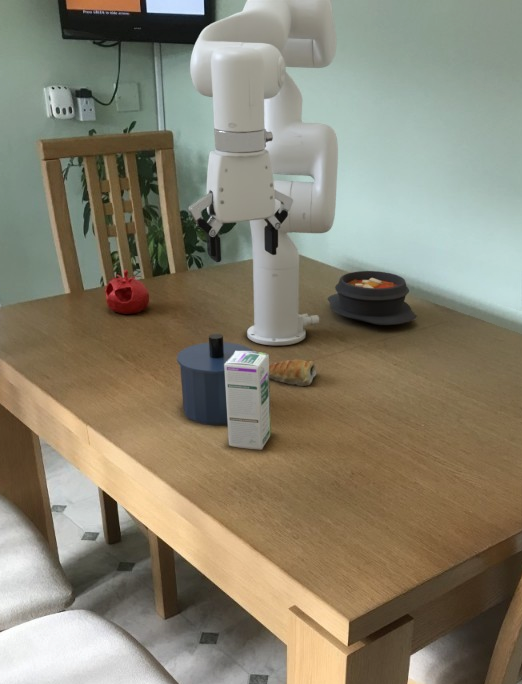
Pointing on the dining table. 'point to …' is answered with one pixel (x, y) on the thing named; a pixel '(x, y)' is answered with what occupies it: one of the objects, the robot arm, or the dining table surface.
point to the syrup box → (248, 399)
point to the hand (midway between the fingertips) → (243, 256)
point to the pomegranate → (126, 294)
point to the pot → (204, 397)
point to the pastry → (293, 372)
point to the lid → (209, 355)
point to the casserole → (372, 298)
